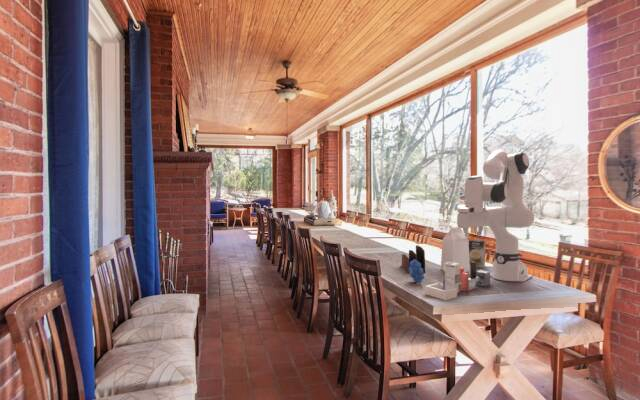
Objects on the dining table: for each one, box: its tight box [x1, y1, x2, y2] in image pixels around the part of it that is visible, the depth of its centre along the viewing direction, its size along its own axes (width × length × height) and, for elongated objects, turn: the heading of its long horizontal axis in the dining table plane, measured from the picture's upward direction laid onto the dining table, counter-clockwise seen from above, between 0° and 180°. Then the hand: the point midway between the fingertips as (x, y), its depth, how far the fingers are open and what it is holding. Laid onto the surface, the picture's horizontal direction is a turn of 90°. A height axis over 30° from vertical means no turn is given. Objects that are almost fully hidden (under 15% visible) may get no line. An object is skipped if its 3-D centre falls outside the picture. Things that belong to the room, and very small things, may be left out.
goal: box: [424, 283, 458, 301], centre depth 191 cm, size 8×12×4 cm, turn 34°
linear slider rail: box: [459, 262, 492, 292], centre depth 205 cm, size 24×7×12 cm, turn 124°
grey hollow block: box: [474, 269, 491, 288], centre depth 209 cm, size 4×5×7 cm
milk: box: [440, 226, 470, 273], centre depth 243 cm, size 12×12×26 cm
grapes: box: [409, 259, 425, 284], centre depth 215 cm, size 12×7×12 cm, turn 22°
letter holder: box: [401, 244, 426, 274], centre depth 247 cm, size 10×20×14 cm, turn 0°
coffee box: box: [468, 239, 486, 268], centre depth 255 cm, size 9×6×16 cm
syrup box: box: [442, 262, 460, 294], centre depth 195 cm, size 6×6×14 cm
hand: (473, 236), depth 203 cm, fingers open, 8 cm apart
